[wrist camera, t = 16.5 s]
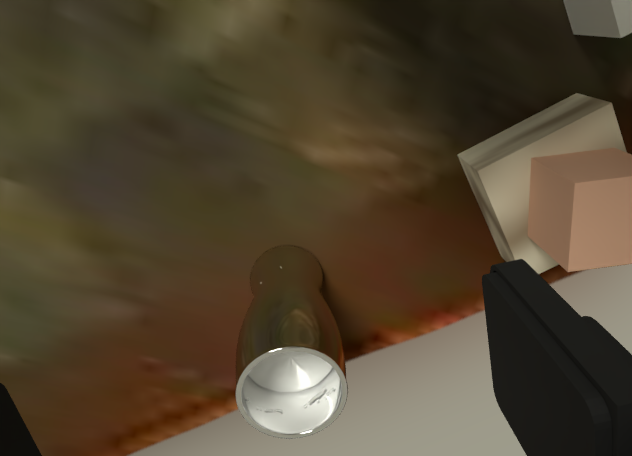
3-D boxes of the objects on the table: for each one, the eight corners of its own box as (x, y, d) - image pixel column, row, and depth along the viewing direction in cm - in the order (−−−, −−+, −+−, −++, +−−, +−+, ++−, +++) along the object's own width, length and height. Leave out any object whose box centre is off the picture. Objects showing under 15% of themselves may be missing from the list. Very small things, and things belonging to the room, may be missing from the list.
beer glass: (344, 267, 46) (375, 378, 32) (297, 327, 48) (307, 458, 34) (274, 224, 44) (274, 323, 30) (228, 289, 46) (208, 411, 32)
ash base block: (455, 153, 43) (477, 171, 39) (574, 92, 42) (611, 102, 37) (499, 254, 47) (524, 281, 42) (609, 200, 46) (647, 221, 41)
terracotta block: (531, 157, 38) (574, 183, 33) (614, 147, 39) (672, 171, 33) (527, 235, 41) (567, 272, 35) (606, 225, 41) (658, 260, 35)
